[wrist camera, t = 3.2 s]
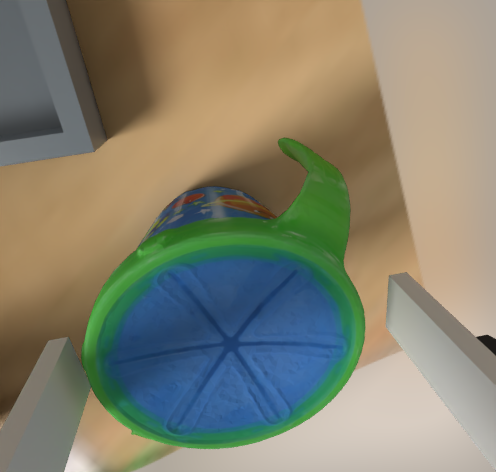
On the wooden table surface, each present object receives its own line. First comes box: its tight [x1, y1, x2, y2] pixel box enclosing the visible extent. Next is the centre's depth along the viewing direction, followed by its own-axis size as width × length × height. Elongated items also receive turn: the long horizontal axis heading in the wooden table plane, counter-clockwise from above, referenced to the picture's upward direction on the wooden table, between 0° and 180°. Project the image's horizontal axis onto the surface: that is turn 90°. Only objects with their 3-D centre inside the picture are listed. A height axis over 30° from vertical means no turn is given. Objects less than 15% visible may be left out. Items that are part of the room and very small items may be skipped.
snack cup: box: [81, 138, 365, 449], centre depth 17 cm, size 16×10×10 cm
